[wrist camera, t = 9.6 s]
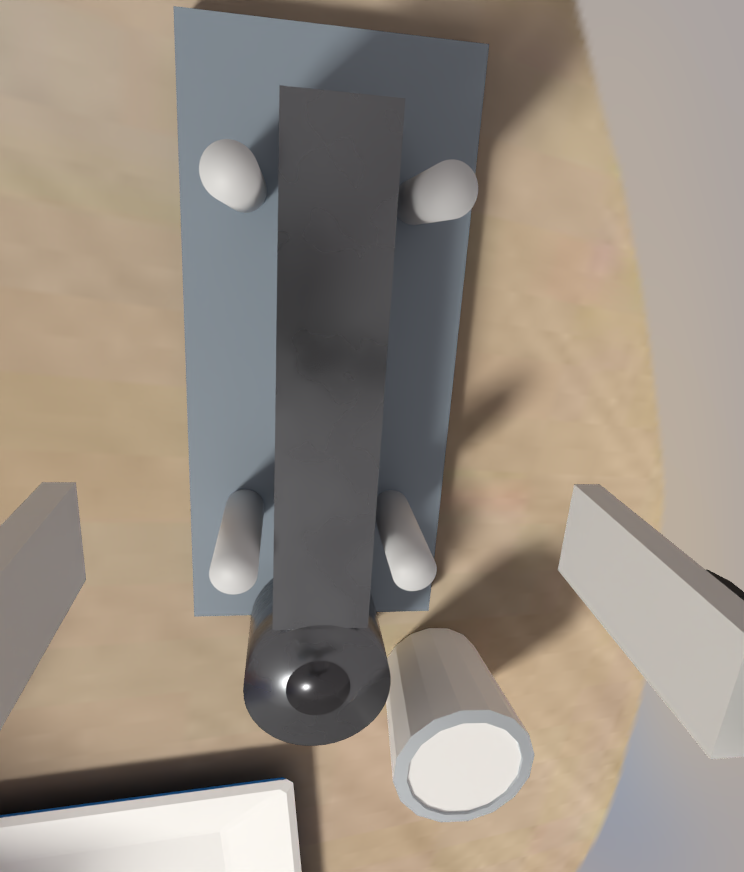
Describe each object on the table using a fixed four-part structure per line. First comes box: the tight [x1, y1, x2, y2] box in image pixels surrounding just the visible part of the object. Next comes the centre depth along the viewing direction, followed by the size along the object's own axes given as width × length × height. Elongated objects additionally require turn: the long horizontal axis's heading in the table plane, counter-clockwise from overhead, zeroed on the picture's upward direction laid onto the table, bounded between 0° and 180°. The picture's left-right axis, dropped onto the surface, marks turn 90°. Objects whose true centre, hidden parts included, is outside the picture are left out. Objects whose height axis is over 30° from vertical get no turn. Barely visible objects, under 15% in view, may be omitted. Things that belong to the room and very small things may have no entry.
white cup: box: [386, 628, 534, 822], centre depth 31 cm, size 7×7×7 cm
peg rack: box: [174, 6, 489, 616], centre depth 24 cm, size 26×12×8 cm, turn 176°
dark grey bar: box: [243, 85, 405, 746], centre depth 25 cm, size 26×6×5 cm, turn 176°
